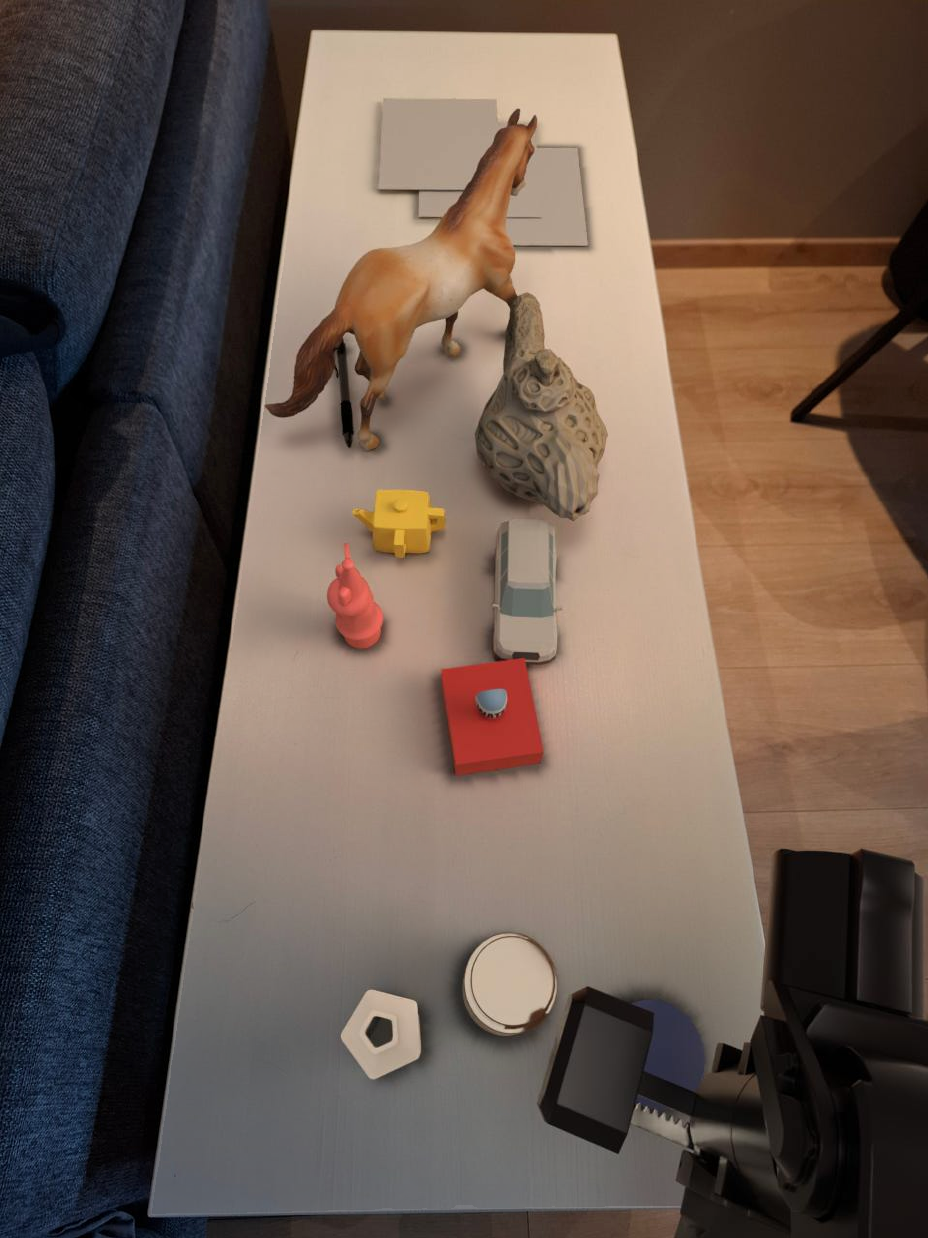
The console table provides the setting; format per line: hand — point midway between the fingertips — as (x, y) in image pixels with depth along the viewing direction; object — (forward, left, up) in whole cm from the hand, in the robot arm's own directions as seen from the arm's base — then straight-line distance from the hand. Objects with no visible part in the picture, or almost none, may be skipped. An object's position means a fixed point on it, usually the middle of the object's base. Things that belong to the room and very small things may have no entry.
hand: (700, 1115), depth 47 cm
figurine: (+35, +22, -12) cm, 43 cm away
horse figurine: (+64, +20, -12) cm, 68 cm away
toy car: (+38, +8, -12) cm, 41 cm away
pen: (+61, +26, -12) cm, 67 cm away
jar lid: (+3, 0, -10) cm, 11 cm away
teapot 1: (+44, +19, -12) cm, 49 cm away
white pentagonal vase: (+4, +18, -12) cm, 22 cm away
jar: (+7, +10, -12) cm, 17 cm away
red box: (+27, +11, -12) cm, 32 cm away
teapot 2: (+53, +7, -12) cm, 55 cm away
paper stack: (+95, +12, -12) cm, 96 cm away
